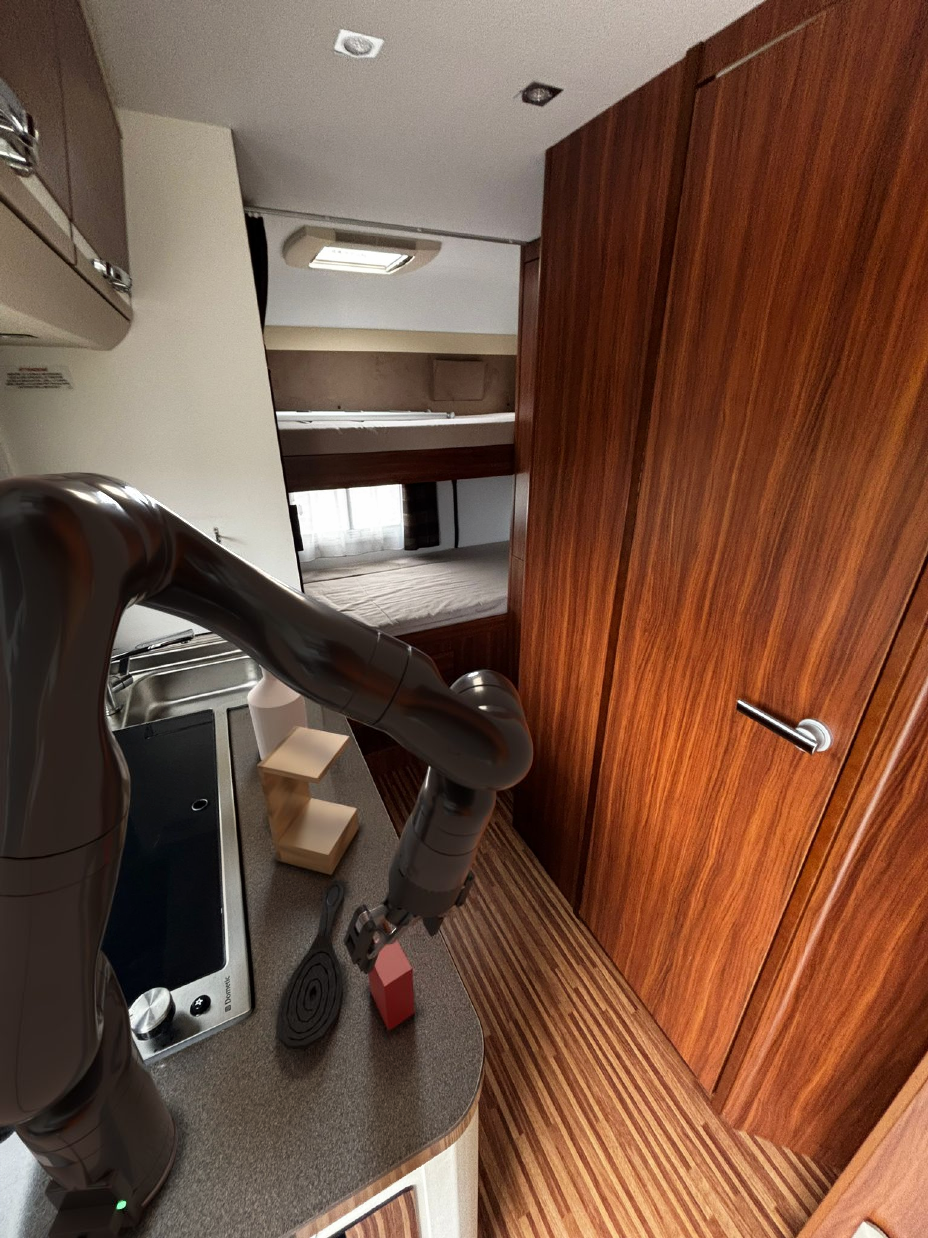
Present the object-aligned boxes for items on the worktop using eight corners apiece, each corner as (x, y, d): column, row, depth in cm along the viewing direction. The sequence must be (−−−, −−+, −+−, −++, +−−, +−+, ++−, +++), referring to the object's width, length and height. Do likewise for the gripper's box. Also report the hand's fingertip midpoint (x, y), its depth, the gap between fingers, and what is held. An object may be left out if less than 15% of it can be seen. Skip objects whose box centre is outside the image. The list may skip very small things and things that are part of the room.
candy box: (395, 974, 72) (391, 930, 68) (414, 1012, 68) (412, 968, 64) (370, 990, 70) (364, 946, 66) (388, 1031, 66) (384, 987, 62)
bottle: (257, 741, 120) (238, 651, 110) (307, 729, 125) (294, 642, 114) (261, 772, 110) (241, 677, 100) (315, 758, 115) (301, 665, 105)
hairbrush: (360, 871, 85) (329, 1041, 61) (362, 887, 86) (331, 1058, 63) (312, 873, 84) (261, 1043, 61) (314, 888, 86) (266, 1061, 62)
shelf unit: (331, 875, 87) (317, 778, 78) (277, 860, 90) (257, 765, 81) (359, 827, 97) (349, 736, 88) (309, 815, 99) (294, 725, 90)
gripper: (468, 803, 56) (431, 891, 63) (353, 848, 47) (325, 945, 54) (509, 858, 51) (465, 947, 58) (390, 920, 42) (354, 1016, 49)
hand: (397, 946), depth 56 cm, fingers open, 8 cm apart
